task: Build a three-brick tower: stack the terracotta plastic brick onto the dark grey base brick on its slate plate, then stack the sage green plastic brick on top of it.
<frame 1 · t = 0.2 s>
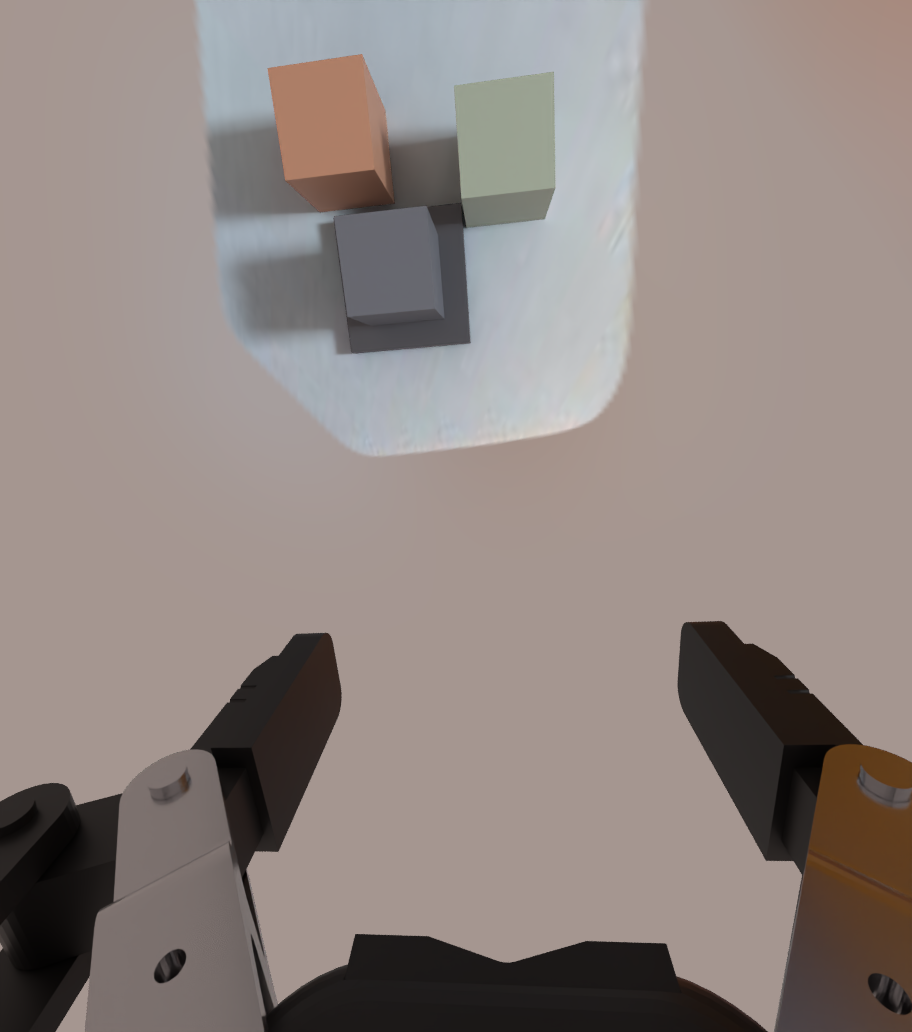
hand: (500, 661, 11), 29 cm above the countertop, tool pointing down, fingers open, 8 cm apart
brick terracotta: (351, 163, 33), on the countertop
tower base: (405, 284, 35), on the countertop
brick sage: (503, 178, 33), on the countertop
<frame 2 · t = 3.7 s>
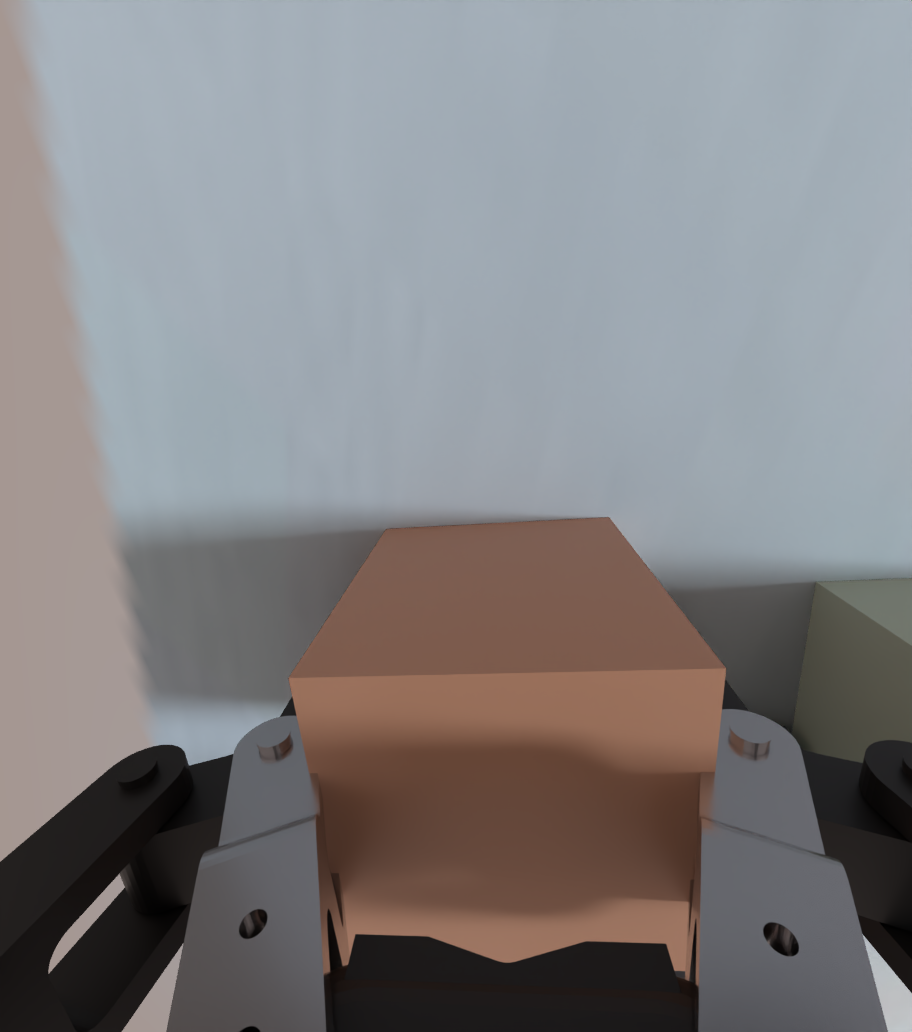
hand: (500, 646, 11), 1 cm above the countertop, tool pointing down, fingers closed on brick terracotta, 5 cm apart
brick terracotta: (500, 621, 12), on the countertop, touching gripper
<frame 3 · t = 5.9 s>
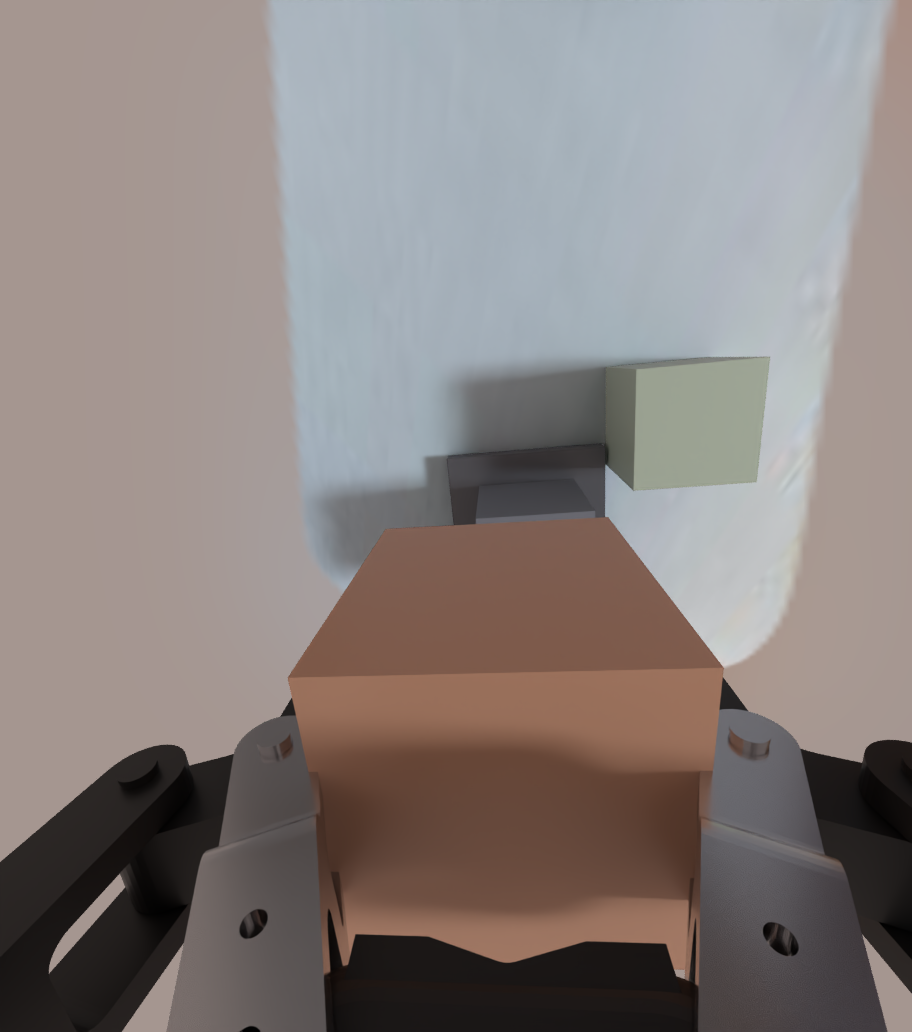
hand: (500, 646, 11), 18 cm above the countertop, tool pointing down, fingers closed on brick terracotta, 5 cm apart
brick terracotta: (500, 621, 12), point 17 cm above the countertop, touching gripper
tower base: (527, 521, 29), on the countertop
brick sage: (654, 412, 27), on the countertop
when the fingers open (9 cm above the countertop, at t = 8.1 s): brick terracotta drops 1 cm, resting on tower base.
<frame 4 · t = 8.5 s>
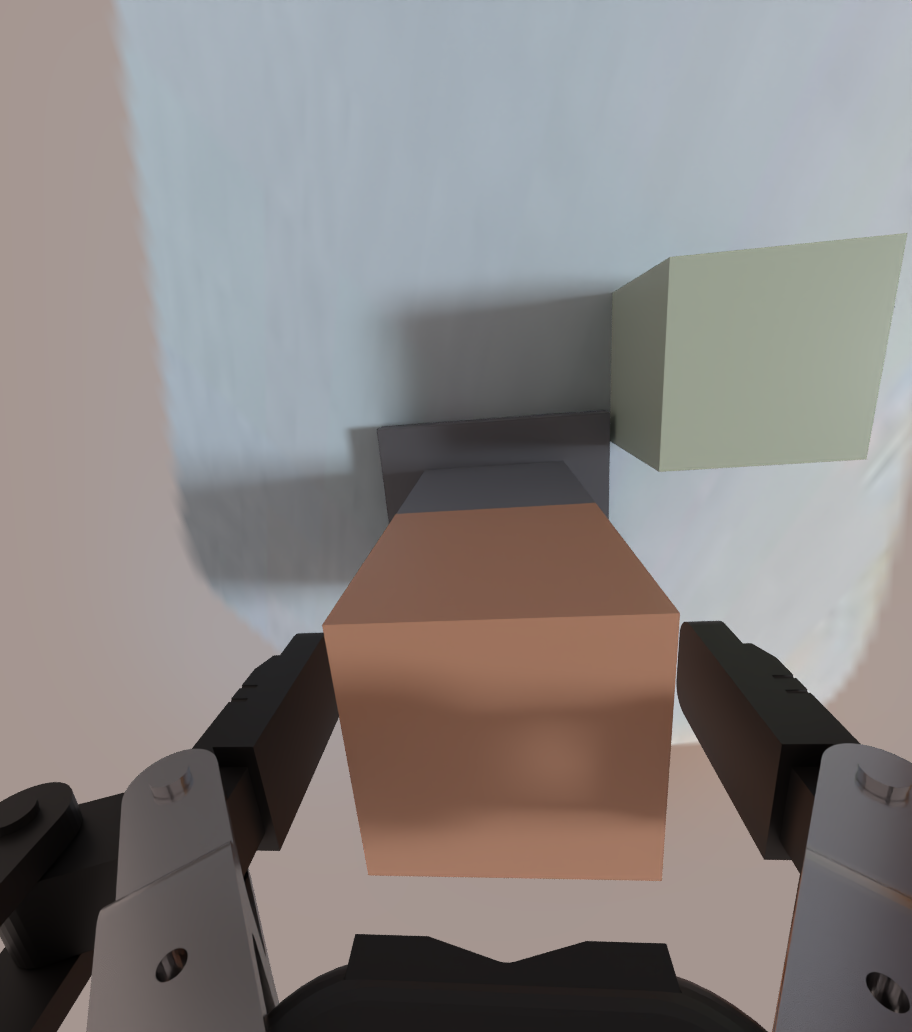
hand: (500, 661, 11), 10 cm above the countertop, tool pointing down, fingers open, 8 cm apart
brick terracotta: (498, 598, 14), point 7 cm above the countertop, touching tower base
tower base: (496, 523, 20), on the countertop
brick sage: (683, 364, 18), on the countertop
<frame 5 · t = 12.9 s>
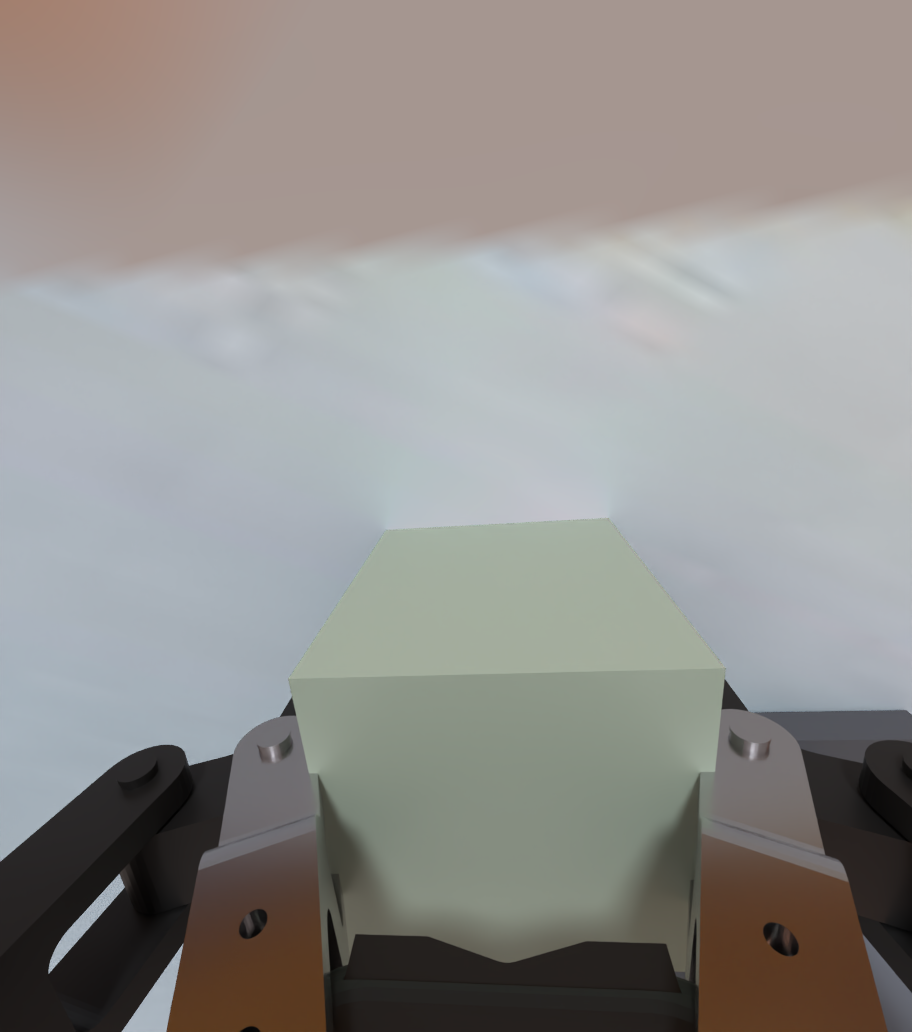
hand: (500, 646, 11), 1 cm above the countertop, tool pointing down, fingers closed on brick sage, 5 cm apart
tower base: (712, 837, 14), on the countertop
brick sage: (500, 622, 12), on the countertop, touching gripper
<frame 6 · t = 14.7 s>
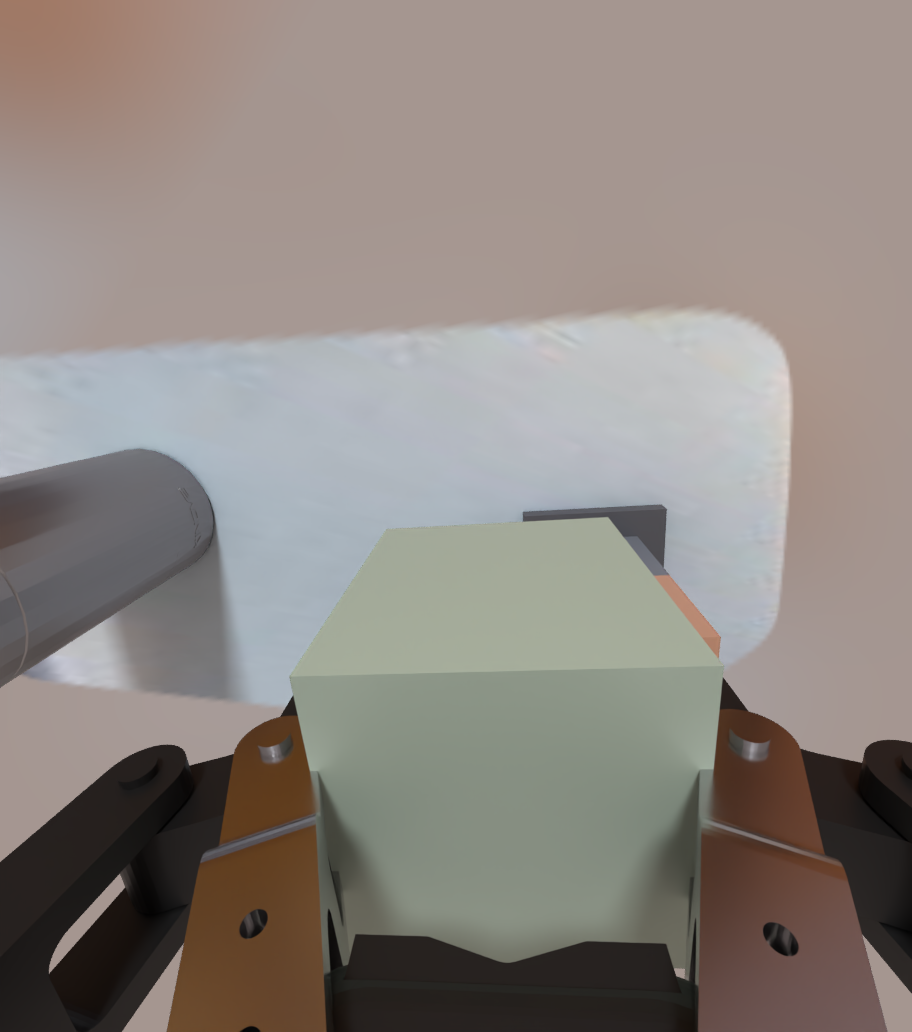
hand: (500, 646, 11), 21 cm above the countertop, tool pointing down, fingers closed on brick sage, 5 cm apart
brick terracotta: (614, 622, 26), point 7 cm above the countertop, touching tower base
tower base: (590, 570, 33), on the countertop
brick sage: (500, 621, 12), point 19 cm above the countertop, touching gripper
when the fingers open (15 cm above the countertop, at t = 17.1 s): brick sage drops 1 cm, resting on brick terracotta.
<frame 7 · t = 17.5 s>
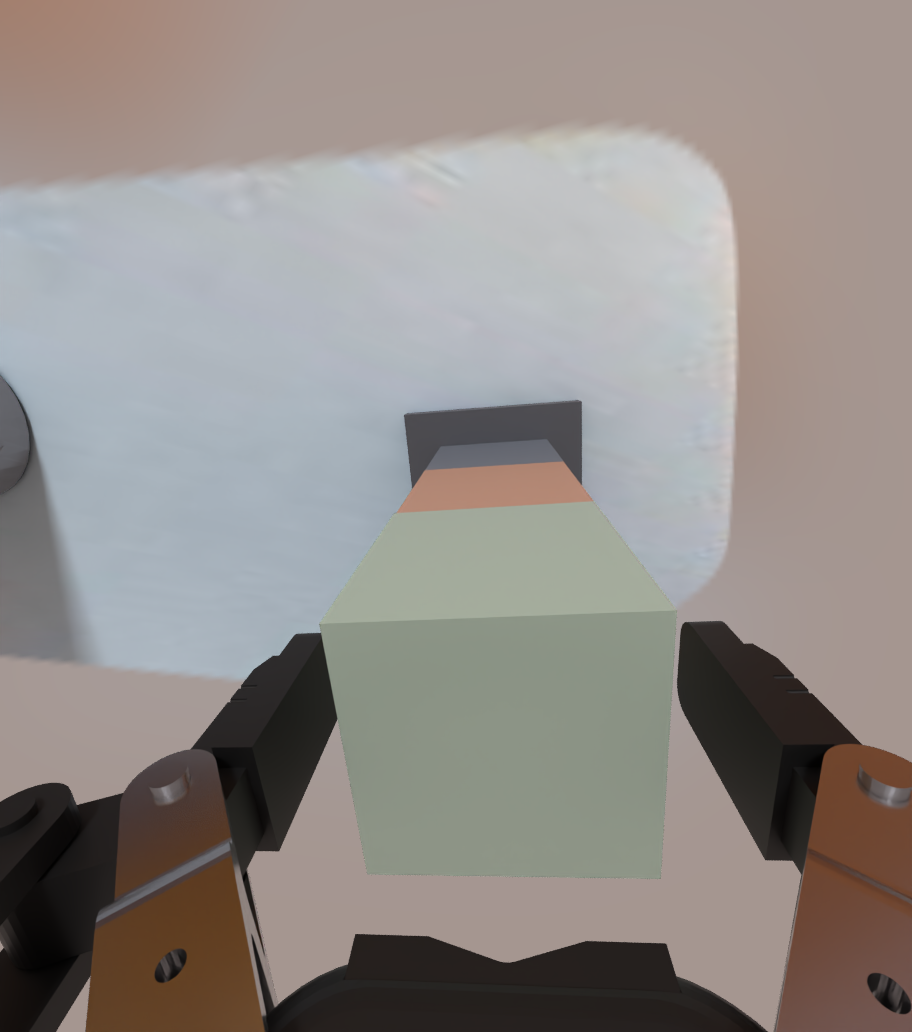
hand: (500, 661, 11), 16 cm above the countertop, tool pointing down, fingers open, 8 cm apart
brick terracotta: (496, 531, 19), point 7 cm above the countertop, touching brick sage, tower base
tower base: (496, 489, 26), on the countertop
brick sage: (497, 597, 14), point 13 cm above the countertop, touching brick terracotta
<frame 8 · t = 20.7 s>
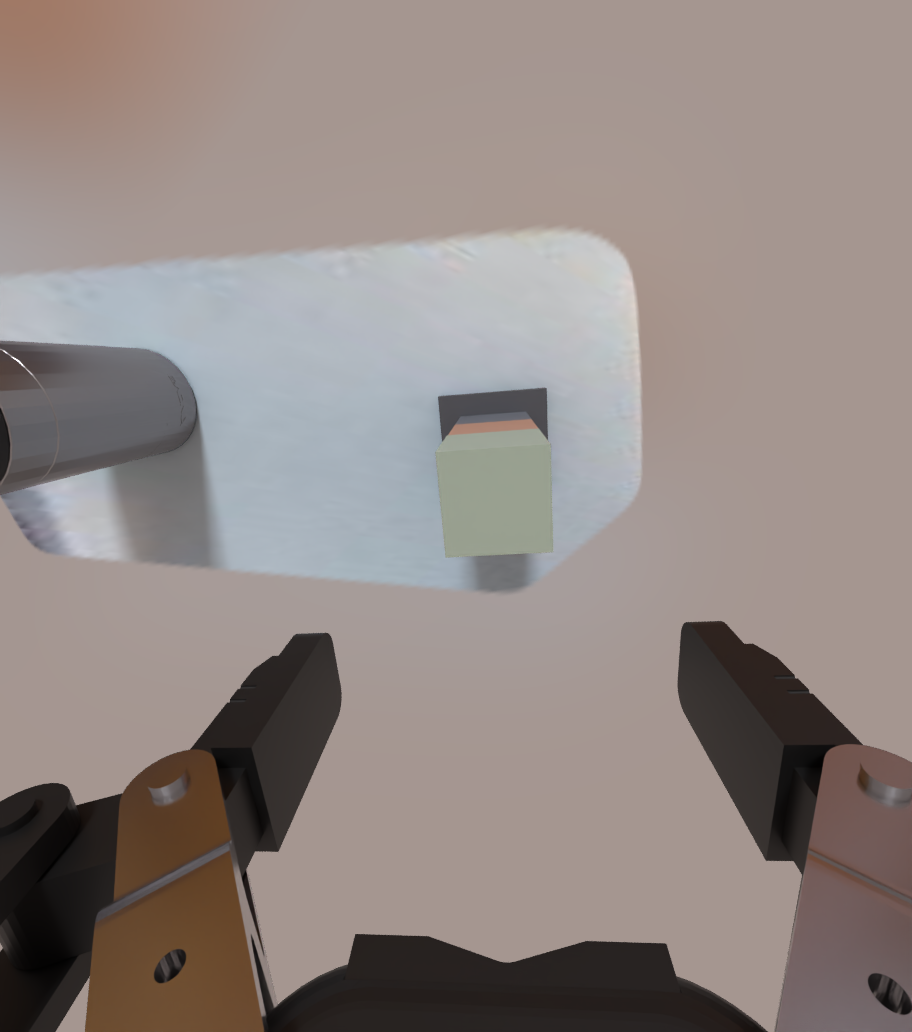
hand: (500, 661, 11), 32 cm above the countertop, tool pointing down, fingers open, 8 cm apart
brick terracotta: (495, 459, 35), point 7 cm above the countertop, touching brick sage, tower base
tower base: (494, 444, 41), on the countertop
brick sage: (495, 476, 29), point 13 cm above the countertop, touching brick terracotta
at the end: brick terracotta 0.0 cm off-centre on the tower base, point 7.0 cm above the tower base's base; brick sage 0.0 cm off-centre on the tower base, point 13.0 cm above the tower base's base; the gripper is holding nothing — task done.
